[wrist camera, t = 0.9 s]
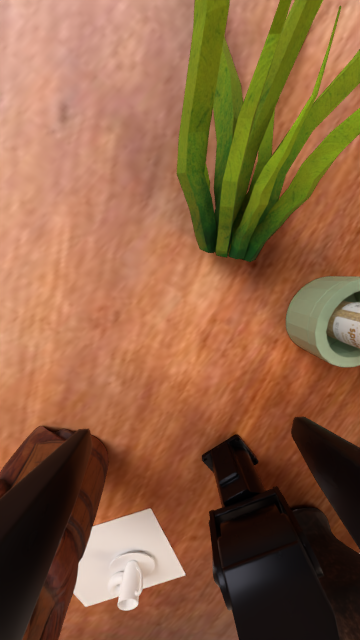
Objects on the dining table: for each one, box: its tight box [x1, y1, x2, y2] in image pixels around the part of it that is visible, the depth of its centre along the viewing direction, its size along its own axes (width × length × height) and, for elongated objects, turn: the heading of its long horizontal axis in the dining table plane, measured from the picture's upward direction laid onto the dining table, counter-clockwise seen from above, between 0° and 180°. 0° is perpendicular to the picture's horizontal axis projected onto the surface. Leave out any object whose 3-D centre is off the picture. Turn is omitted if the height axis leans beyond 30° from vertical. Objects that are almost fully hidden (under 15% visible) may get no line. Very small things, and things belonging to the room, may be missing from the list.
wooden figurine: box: [0, 426, 108, 640], centre depth 15 cm, size 12×6×18 cm, turn 64°
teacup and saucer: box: [106, 552, 156, 610], centre depth 29 cm, size 9×8×4 cm
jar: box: [286, 276, 360, 367], centre depth 20 cm, size 9×9×4 cm
